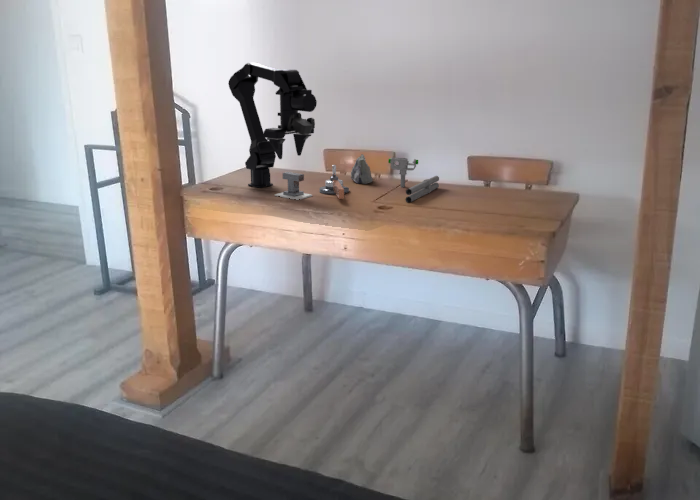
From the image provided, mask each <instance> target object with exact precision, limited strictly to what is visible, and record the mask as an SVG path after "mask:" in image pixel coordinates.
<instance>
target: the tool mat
mask: <svg viewBox="0 0 700 500" xmlns="http://www.w3.org/2000/svg"><path fill="white" fill-rule="evenodd" d="M283 192H284V191H282V192H278V193H275V194H274V196H275V197H278V196H280V197H279V198H283V199H289V198H290V199H289V200H294V199H296V200H295V201H299V199H300V200H303V199H307V198H311V197H313V194H311V193H305V192H304V194H303V195H300V196H296V197H294V196H288V195H283Z"/></svg>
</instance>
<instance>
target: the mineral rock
mask: <svg viewBox="0 0 700 500" xmlns="http://www.w3.org/2000/svg"><path fill="white" fill-rule="evenodd" d="M372 176H373V175H372V173H371V167H370V166H369V165H368V163H367V159H366V157H365V155H364V154H363V153H362V154H360V156H358V157H357V159H356V160H355V163H354V165H353V167H352V169H351V171H350V178H351V180H353V182H354V183H356V184H362V185H367V184H371V183H373V178H372Z"/></svg>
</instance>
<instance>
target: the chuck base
mask: <svg viewBox="0 0 700 500" xmlns="http://www.w3.org/2000/svg"><path fill="white" fill-rule="evenodd" d="M343 189H344V195H345V194H348V193H349V191H350V187H349V186H348V187H347V186H344V185H343ZM318 191H319V193H321V194H323V195H335V196H337V195H336V193H335V192H334V190H329V189H326V188H325V185H324V186H320V187H319V190H318Z"/></svg>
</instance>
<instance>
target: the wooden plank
mask: <svg viewBox="0 0 700 500" xmlns="http://www.w3.org/2000/svg"><path fill="white" fill-rule="evenodd" d="M331 166H332V168H331V170H332V171H331V173H332V176H330V177H329V179H325V183H324V186H325V188H326V189H329V190H334V192H335V193H336V195H335V196H337V198H338V199H339V200H340V199H342V200H343V199H344V198H345V194H344V189H343V186H344V180H342V179H339V176H338V175H337V164H332V165H331Z"/></svg>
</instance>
